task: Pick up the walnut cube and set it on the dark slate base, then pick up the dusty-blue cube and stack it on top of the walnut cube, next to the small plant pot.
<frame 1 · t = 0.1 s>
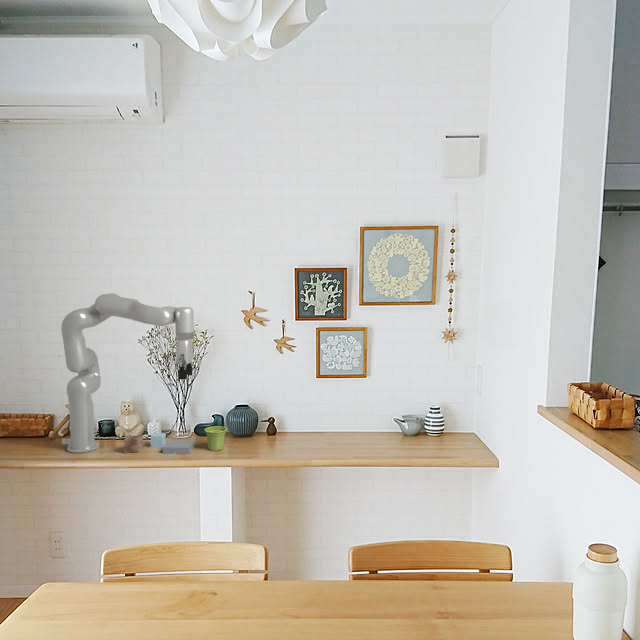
hand: (185, 377, 252), 31 cm above the table, tool pointing down, fingers open, 9 cm apart
slate base: (179, 449, 254), on the table
blue block: (158, 446, 260), on the table
plant pot: (216, 449, 255), on the table
walnut block: (133, 451, 252), on the table
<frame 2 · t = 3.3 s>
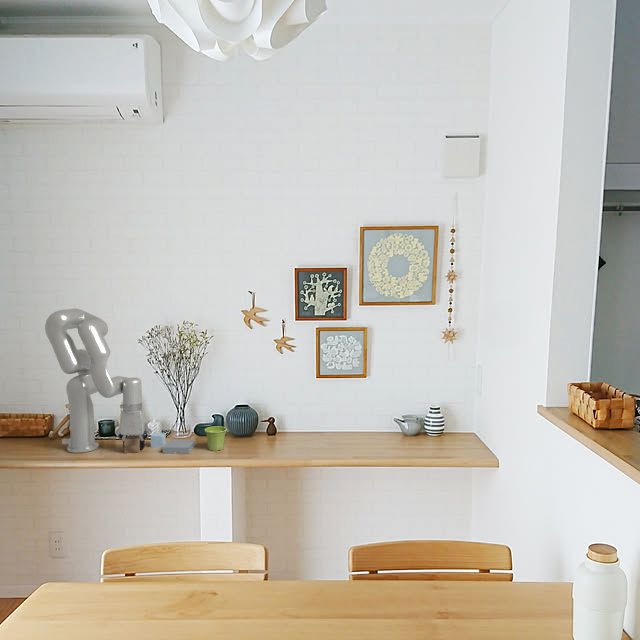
hand: (134, 449, 252), 1 cm above the table, tool pointing down, fingers closed on walnut block, 6 cm apart
walnut block: (134, 451, 252), on the table, touching gripper
everything else where it was.
when the fingers open (4 cm above the table, at t = 7.7 s): walnut block stays where it is, resting on slate base.
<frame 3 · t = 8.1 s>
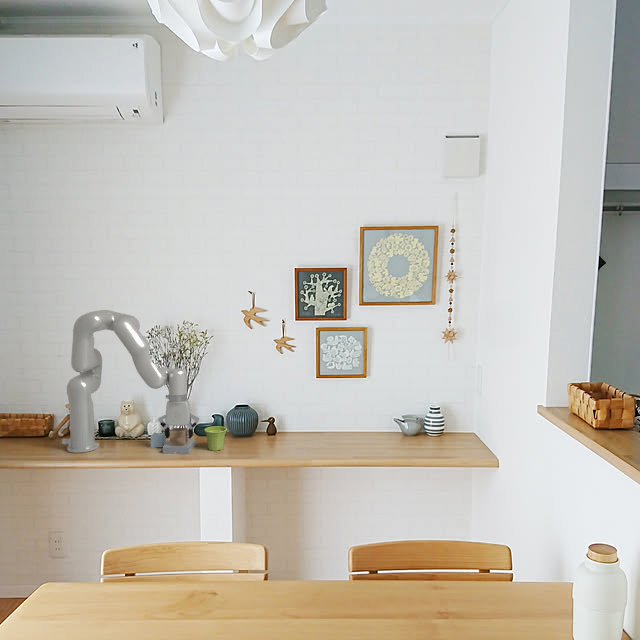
hand: (179, 437, 254), 5 cm above the table, tool pointing down, fingers open, 9 cm apart
walnut block: (179, 443, 254), point 2 cm above the table, touching slate base
everything else where it was.
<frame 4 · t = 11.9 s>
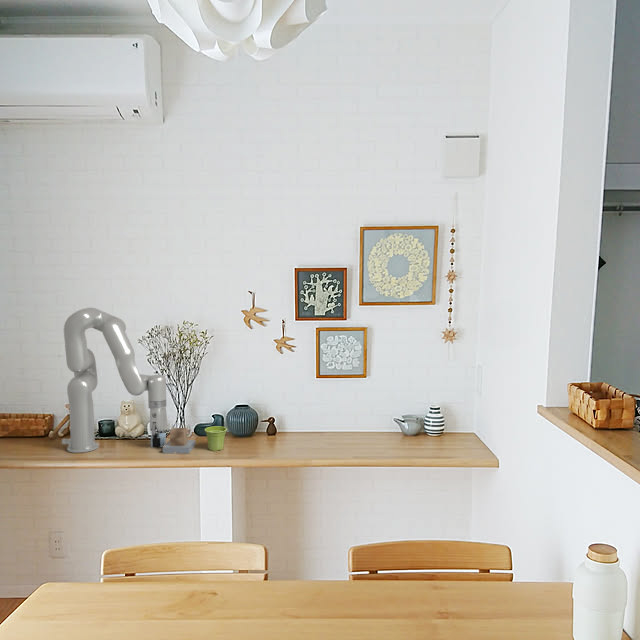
hand: (158, 444, 260), 0 cm above the table, tool pointing down, fingers closed on blue block, 5 cm apart
blue block: (158, 445, 260), on the table, touching gripper
everything else where it was.
when the fingers open (10 cm above the table, at t = 15.7 s): blue block stays where it is, resting on walnut block.
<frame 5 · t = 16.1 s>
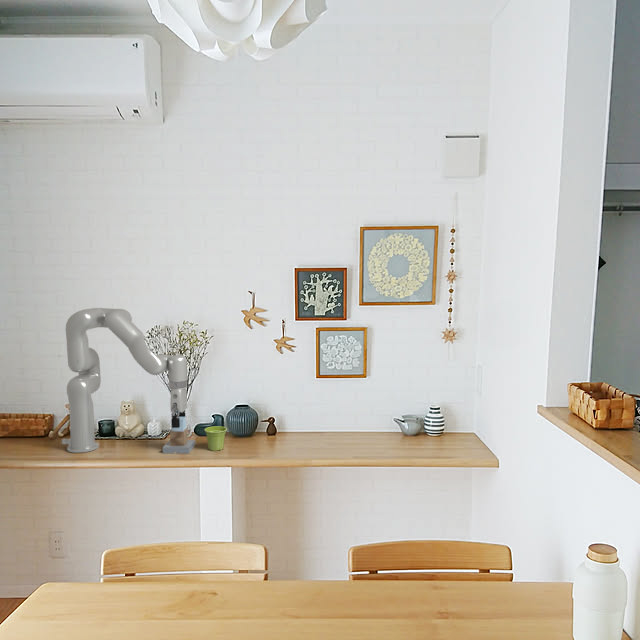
hand: (178, 424, 253), 11 cm above the table, tool pointing down, fingers open, 9 cm apart
blue block: (178, 429, 254), point 8 cm above the table, touching walnut block
walnut block: (179, 443, 254), point 2 cm above the table, touching blue block, slate base
everything else where it was.
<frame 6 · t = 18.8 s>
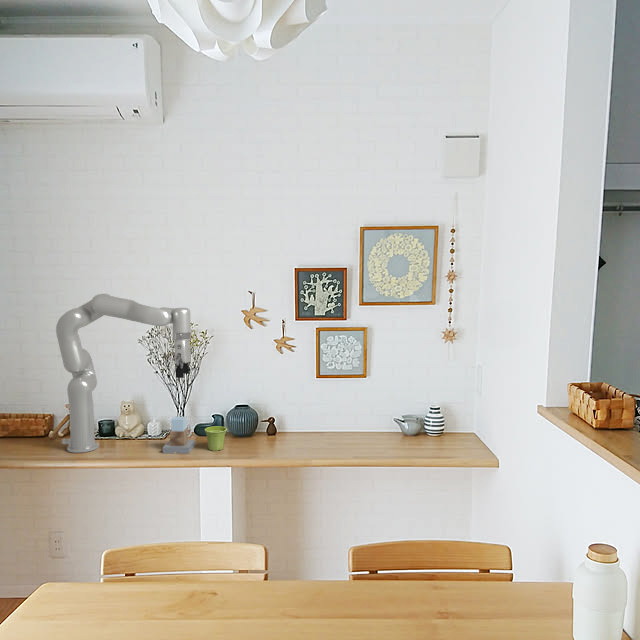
hand: (182, 375, 260), 30 cm above the table, tool pointing down, fingers open, 9 cm apart
nothing on the table moved.
at the end: walnut block 0.1 cm off-centre on the slate base, point 2.5 cm above the slate base's base; blue block 0.1 cm off-centre on the walnut block, point 6.0 cm above the walnut block's base; blue block tilted 0° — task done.
